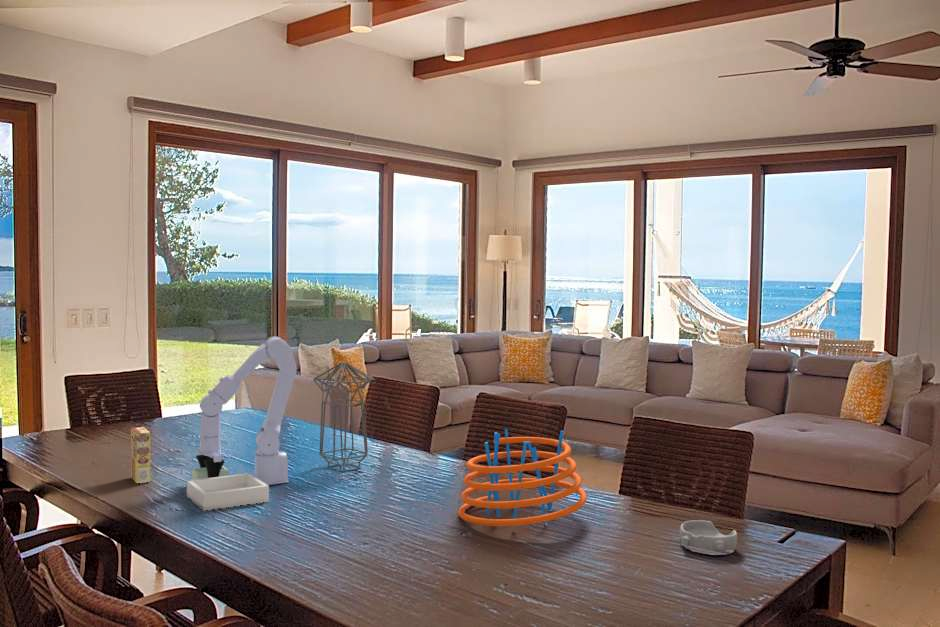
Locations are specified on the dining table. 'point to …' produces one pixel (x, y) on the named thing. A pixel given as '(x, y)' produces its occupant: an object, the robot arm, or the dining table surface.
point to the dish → (706, 536)
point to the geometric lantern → (368, 379)
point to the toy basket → (521, 481)
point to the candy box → (140, 455)
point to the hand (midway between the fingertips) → (209, 481)
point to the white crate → (227, 491)
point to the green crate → (202, 473)
